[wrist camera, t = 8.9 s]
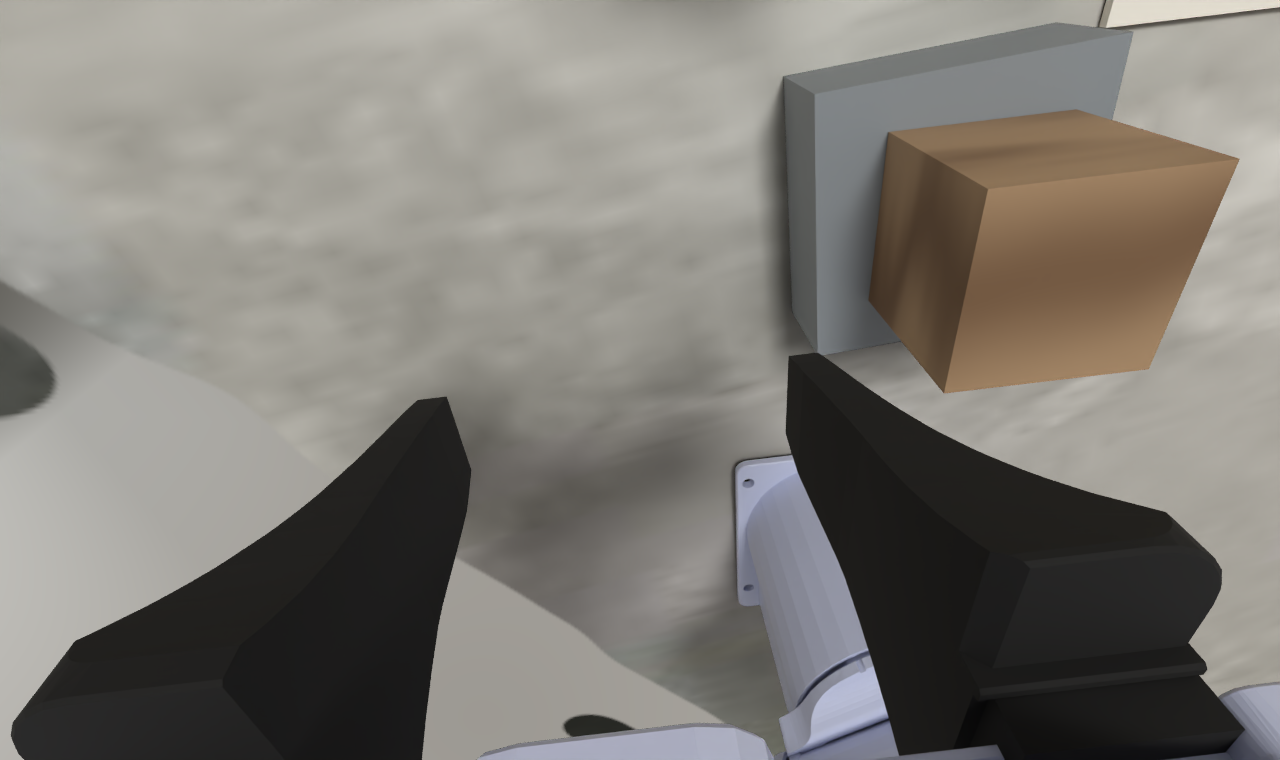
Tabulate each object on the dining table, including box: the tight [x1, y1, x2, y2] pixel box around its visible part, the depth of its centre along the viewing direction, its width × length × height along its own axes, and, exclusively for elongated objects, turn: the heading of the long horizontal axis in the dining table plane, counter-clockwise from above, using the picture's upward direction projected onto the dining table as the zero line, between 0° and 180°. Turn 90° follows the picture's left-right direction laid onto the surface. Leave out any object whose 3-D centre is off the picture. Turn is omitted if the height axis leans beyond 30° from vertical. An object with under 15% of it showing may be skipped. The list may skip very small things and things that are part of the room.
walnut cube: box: [868, 109, 1239, 393], centre depth 16 cm, size 5×5×5 cm
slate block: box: [783, 23, 1133, 355], centre depth 19 cm, size 8×8×4 cm
